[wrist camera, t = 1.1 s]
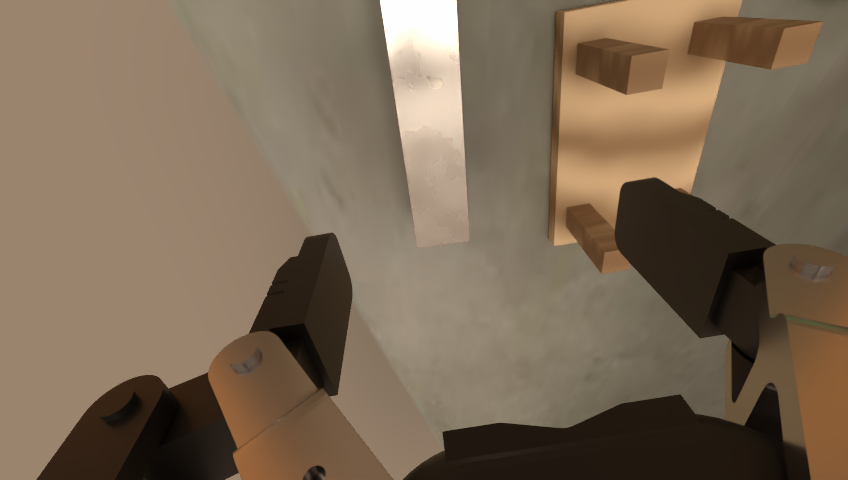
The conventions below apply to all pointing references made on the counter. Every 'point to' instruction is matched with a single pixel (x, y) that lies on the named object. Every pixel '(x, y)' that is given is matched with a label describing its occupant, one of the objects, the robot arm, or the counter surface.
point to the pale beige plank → (429, 114)
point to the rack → (644, 101)
